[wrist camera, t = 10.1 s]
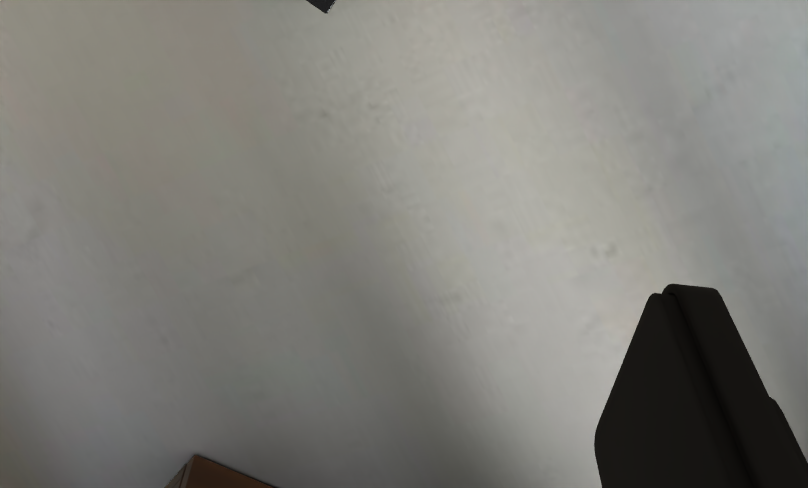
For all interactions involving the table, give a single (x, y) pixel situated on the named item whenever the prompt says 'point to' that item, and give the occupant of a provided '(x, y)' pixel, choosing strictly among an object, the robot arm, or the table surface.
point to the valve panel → (322, 4)
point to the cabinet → (177, 479)
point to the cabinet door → (215, 476)
